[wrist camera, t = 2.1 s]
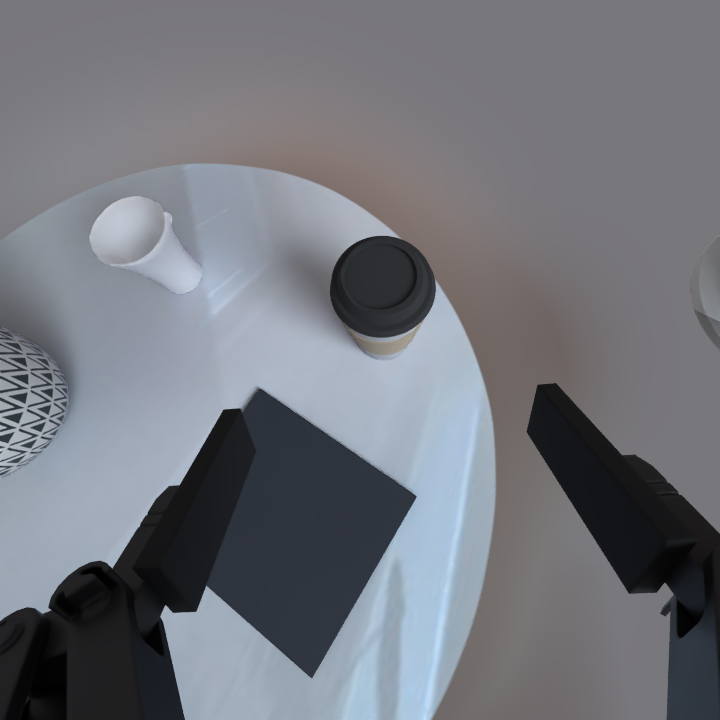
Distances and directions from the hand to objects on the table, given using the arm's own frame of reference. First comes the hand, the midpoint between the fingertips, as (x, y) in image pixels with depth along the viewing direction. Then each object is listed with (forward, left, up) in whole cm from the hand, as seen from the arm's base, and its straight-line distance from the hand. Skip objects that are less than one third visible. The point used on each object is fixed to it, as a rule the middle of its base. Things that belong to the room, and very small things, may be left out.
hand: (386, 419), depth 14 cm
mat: (+4, +14, -23) cm, 27 cm away
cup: (+34, -3, -23) cm, 41 cm away
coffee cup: (+6, -10, -23) cm, 26 cm away
